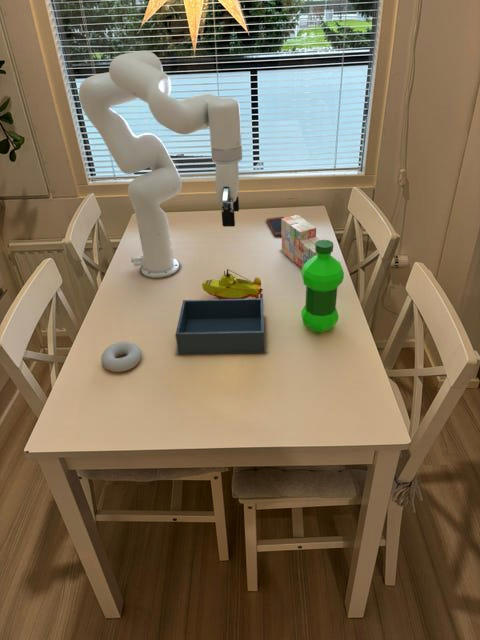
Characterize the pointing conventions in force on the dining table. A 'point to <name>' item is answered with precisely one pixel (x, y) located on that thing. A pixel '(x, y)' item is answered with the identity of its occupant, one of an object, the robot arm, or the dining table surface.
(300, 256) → the stack of blocks
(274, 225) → the smartphone
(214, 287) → the yellow toy submarine
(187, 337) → the tote
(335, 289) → the plastic bottle
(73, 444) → the dining table surface
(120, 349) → the donut
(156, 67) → the robot arm
